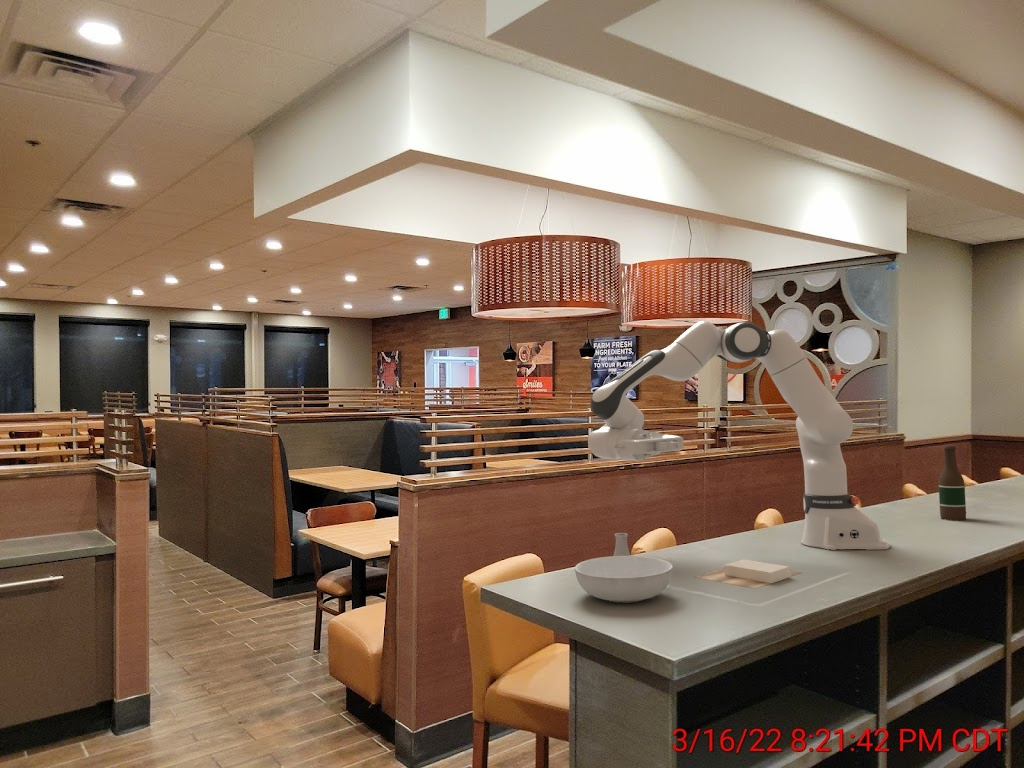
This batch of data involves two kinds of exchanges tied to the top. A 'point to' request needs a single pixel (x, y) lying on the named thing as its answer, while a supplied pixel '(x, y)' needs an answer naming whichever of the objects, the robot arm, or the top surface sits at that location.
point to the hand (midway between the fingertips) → (676, 445)
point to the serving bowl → (624, 577)
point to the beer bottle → (951, 488)
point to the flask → (621, 545)
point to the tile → (757, 571)
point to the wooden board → (735, 579)
